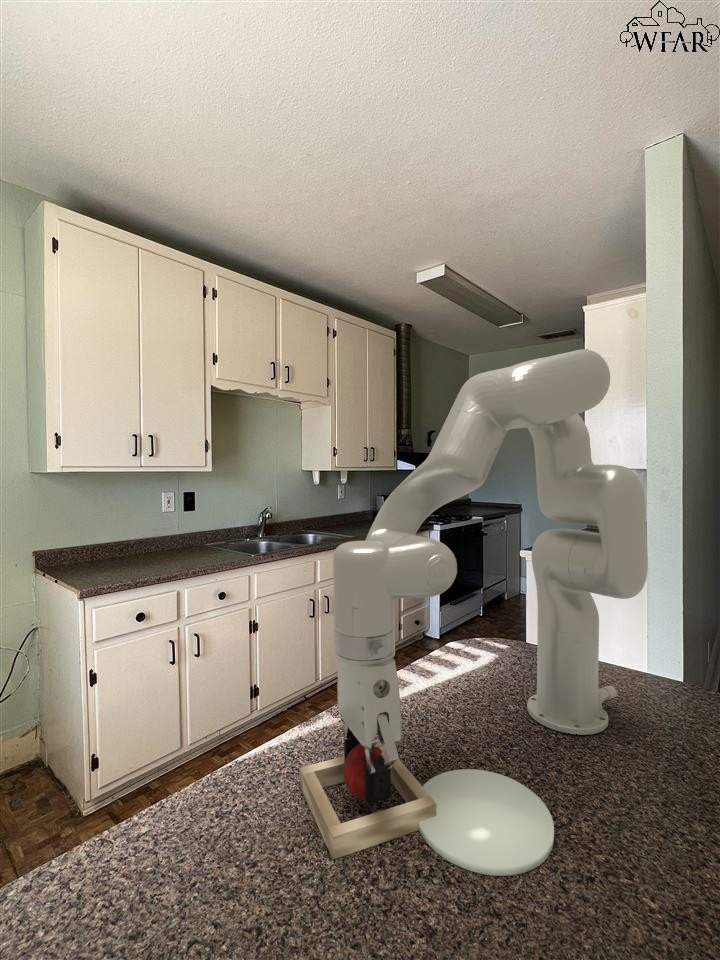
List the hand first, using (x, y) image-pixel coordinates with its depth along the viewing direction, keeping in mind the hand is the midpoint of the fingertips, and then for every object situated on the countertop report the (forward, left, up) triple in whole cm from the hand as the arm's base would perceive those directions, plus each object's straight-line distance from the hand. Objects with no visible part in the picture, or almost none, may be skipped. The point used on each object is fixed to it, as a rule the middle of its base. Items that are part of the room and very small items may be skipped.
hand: (366, 781), depth 61 cm
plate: (-12, +8, -3) cm, 14 cm away
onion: (0, 0, -3) cm, 3 cm away
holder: (0, 0, -3) cm, 3 cm away
